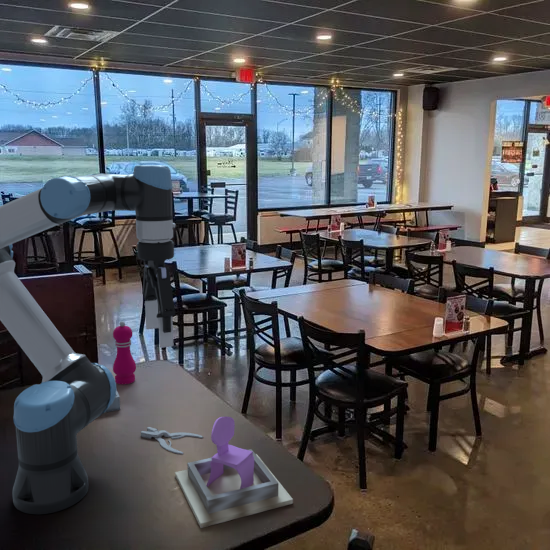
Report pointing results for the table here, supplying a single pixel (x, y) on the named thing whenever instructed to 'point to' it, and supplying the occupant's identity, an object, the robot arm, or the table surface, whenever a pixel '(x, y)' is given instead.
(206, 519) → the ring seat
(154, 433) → the pliers
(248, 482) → the toy chair
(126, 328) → the pepper mill
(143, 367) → the table surface
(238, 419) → the table surface
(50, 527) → the table surface
